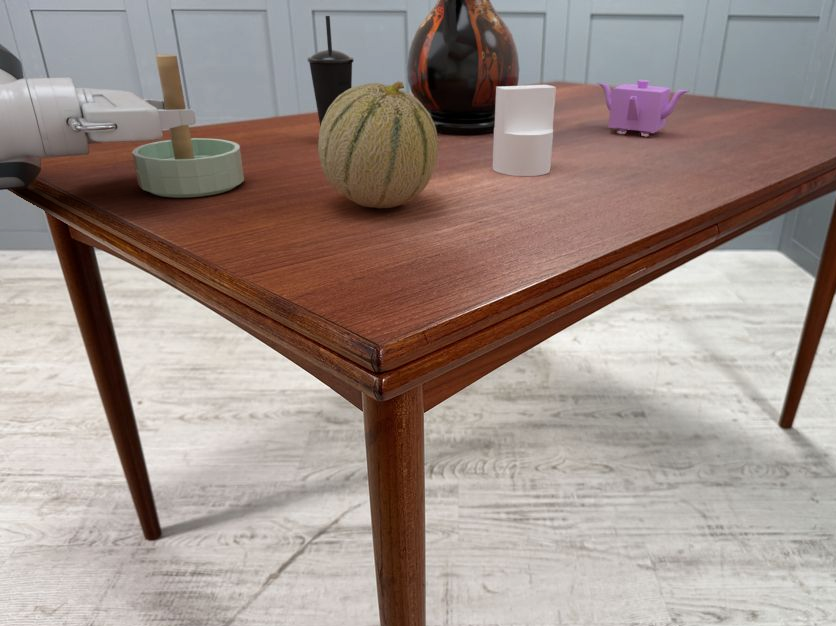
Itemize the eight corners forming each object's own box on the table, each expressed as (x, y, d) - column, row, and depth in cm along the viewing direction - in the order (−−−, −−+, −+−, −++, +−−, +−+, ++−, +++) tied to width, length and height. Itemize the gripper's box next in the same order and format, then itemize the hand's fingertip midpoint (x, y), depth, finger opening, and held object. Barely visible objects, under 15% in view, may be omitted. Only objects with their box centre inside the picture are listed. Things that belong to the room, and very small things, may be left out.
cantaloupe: (329, 189, 91) (319, 71, 84) (436, 189, 92) (436, 73, 85) (315, 223, 78) (303, 88, 71) (440, 223, 79) (440, 89, 72)
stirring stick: (179, 187, 88) (154, 56, 81) (180, 183, 90) (156, 54, 83) (198, 186, 89) (176, 56, 81) (198, 181, 91) (177, 54, 83)
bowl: (135, 202, 84) (126, 162, 82) (145, 176, 95) (138, 140, 93) (246, 195, 88) (240, 157, 85) (243, 171, 99) (238, 136, 96)
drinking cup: (336, 135, 123) (328, 14, 114) (366, 141, 119) (360, 16, 110) (305, 141, 118) (293, 15, 108) (336, 148, 114) (327, 17, 104)
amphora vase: (428, 115, 144) (427, -34, 130) (525, 122, 139) (535, -33, 126) (391, 133, 126) (386, -38, 112) (502, 142, 121) (511, -36, 107)
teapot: (580, 133, 130) (586, 80, 125) (600, 123, 140) (606, 73, 135) (674, 144, 123) (683, 88, 118) (687, 133, 133) (697, 80, 128)
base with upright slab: (509, 178, 99) (514, 92, 93) (482, 164, 106) (485, 84, 100) (561, 173, 102) (568, 90, 96) (531, 160, 109) (537, 82, 103)
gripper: (64, 98, 70) (200, 93, 77) (51, 82, 86) (166, 79, 93) (79, 159, 73) (208, 149, 80) (64, 132, 89) (174, 126, 95)
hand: (185, 111), depth 86 cm, fingers open, 8 cm apart
